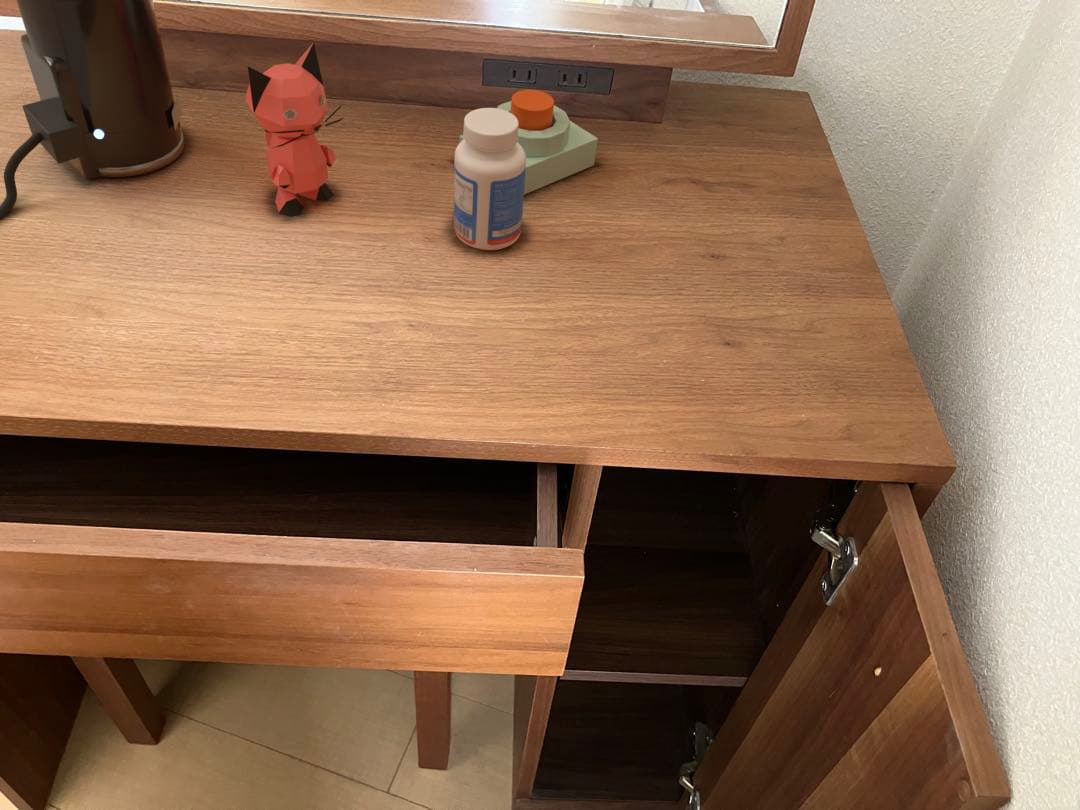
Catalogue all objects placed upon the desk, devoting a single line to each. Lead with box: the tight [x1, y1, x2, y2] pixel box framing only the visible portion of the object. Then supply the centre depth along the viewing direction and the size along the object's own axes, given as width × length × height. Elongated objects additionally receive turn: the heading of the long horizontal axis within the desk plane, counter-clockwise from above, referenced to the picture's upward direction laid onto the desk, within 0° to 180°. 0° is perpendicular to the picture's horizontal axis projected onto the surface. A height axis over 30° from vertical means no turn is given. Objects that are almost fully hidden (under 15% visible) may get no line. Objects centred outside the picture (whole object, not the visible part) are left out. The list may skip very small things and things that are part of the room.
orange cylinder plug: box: [510, 89, 555, 131], centre depth 76 cm, size 4×4×2 cm
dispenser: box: [458, 100, 599, 195], centre depth 78 cm, size 10×7×4 cm
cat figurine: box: [244, 42, 345, 217], centre depth 69 cm, size 7×7×12 cm
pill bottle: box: [453, 107, 526, 251], centre depth 69 cm, size 6×5×10 cm
